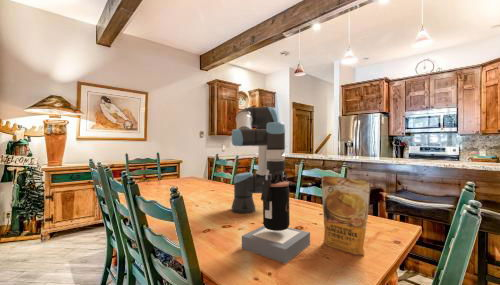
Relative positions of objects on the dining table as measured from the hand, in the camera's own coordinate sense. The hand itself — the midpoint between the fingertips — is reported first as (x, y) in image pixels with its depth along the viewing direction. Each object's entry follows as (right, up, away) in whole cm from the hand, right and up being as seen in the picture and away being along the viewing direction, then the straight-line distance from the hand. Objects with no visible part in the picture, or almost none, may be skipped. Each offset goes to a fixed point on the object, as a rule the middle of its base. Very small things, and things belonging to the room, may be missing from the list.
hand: (276, 214), depth 96 cm
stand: (0, -13, 0) cm, 13 cm away
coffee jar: (0, -5, 0) cm, 5 cm away
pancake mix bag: (+27, -13, -2) cm, 30 cm away
